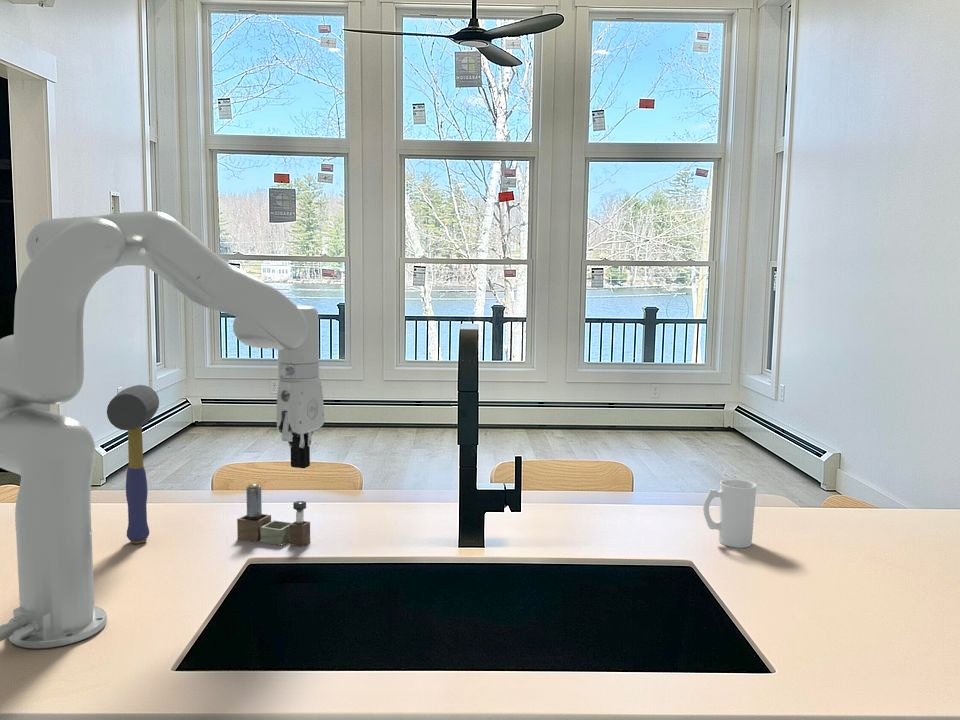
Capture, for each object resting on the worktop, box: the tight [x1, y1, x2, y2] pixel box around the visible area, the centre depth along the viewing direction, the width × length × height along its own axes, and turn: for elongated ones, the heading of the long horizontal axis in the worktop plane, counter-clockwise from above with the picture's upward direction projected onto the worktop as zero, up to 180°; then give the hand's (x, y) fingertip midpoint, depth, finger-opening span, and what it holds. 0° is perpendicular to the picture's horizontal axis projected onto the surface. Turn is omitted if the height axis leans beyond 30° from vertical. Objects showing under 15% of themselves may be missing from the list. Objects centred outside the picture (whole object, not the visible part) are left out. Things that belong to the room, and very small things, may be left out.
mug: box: [703, 478, 757, 549], centre depth 157 cm, size 10×7×12 cm, turn 92°
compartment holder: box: [236, 513, 311, 547], centre depth 155 cm, size 5×14×4 cm, turn 71°
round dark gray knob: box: [292, 500, 307, 525], centre depth 153 cm, size 2×2×6 cm
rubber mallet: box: [106, 384, 160, 544], centre depth 151 cm, size 12×8×30 cm, turn 11°
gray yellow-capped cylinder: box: [245, 482, 263, 521], centre depth 156 cm, size 3×3×11 cm
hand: (300, 466), depth 152 cm, fingers closed
